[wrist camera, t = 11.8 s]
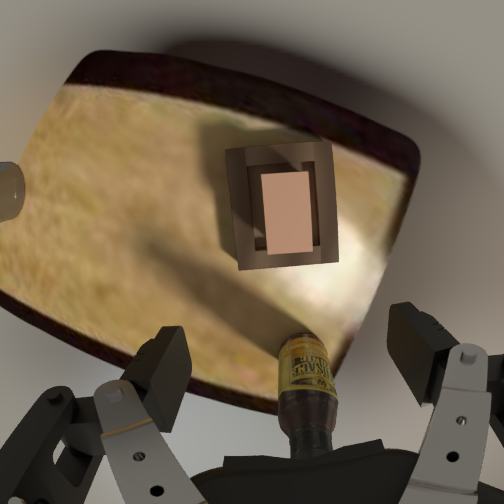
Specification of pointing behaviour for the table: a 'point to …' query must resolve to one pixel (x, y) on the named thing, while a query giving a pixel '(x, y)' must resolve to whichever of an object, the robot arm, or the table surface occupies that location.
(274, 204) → the key block
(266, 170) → the cradle
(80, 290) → the table surface
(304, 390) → the sauce bottle
